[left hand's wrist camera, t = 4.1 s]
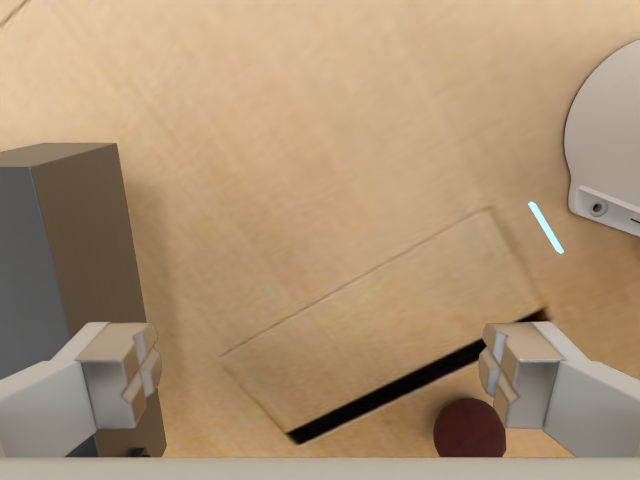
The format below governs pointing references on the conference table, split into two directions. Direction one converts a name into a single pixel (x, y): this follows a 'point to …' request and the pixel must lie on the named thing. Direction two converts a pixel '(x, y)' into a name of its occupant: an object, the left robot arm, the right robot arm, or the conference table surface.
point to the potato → (469, 430)
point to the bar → (68, 267)
